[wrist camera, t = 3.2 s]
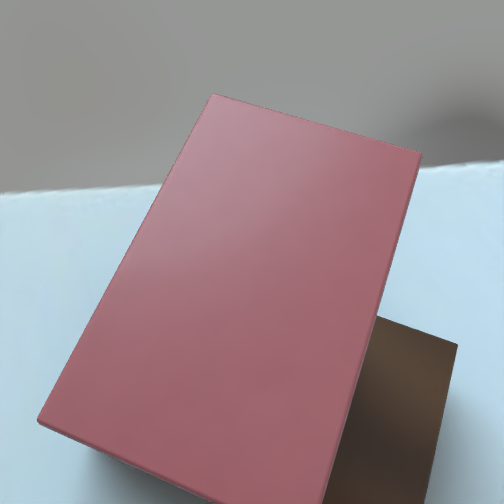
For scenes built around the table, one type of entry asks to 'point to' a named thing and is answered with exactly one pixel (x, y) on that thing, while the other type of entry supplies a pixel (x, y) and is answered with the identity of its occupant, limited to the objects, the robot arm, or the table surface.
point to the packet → (242, 309)
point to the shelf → (393, 418)
